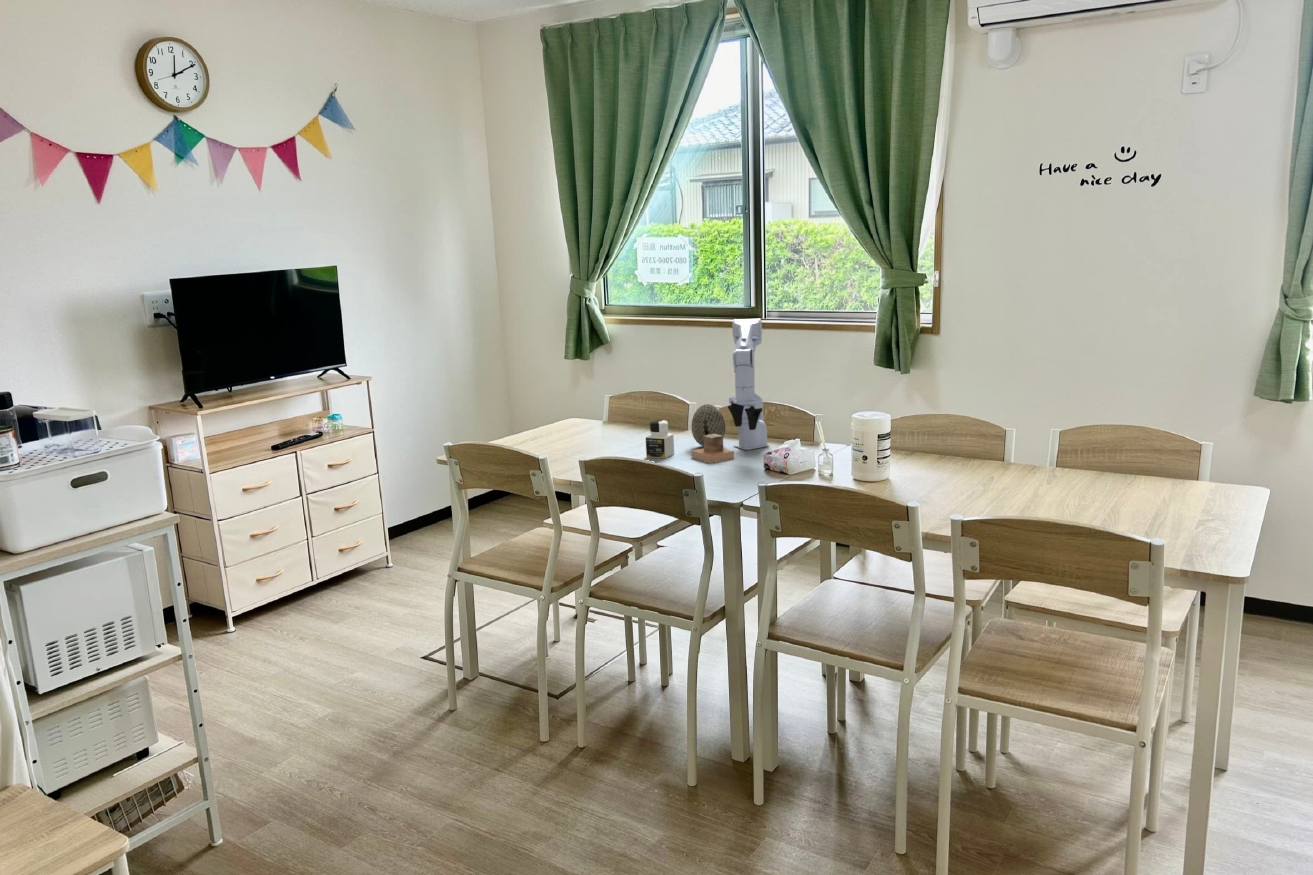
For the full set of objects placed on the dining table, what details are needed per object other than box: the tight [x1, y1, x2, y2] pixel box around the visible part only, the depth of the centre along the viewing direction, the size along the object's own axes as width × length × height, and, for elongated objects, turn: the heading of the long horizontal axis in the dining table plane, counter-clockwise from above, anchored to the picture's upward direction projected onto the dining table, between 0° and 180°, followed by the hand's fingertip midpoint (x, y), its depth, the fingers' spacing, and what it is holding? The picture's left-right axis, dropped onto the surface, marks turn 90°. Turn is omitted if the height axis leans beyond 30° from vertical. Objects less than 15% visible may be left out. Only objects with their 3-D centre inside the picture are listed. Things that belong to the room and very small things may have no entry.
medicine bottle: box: [645, 419, 675, 460], centre depth 322 cm, size 7×7×12 cm
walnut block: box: [703, 434, 724, 453], centre depth 315 cm, size 5×5×5 cm
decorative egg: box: [690, 403, 726, 447], centre depth 332 cm, size 12×12×15 cm
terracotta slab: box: [691, 447, 735, 464], centre depth 316 cm, size 10×10×3 cm
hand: (745, 427), depth 310 cm, fingers open, 7 cm apart
